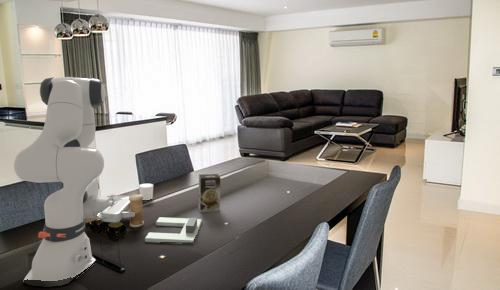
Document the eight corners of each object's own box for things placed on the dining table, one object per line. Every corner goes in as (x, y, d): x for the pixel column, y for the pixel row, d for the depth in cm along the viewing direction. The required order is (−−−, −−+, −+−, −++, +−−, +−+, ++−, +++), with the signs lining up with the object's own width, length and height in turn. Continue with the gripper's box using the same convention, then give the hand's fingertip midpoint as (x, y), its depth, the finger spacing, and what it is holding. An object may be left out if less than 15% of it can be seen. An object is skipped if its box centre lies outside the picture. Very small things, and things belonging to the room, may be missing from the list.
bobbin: (141, 227, 159) (140, 199, 157) (127, 227, 160) (126, 198, 157) (145, 222, 165) (144, 194, 162) (132, 221, 165) (131, 194, 163)
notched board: (193, 244, 147) (193, 232, 146) (145, 241, 147) (145, 230, 146) (201, 222, 166) (201, 212, 165) (159, 220, 167) (159, 210, 166)
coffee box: (200, 212, 177) (200, 178, 173) (198, 207, 183) (198, 174, 179) (220, 211, 179) (220, 177, 176) (217, 206, 185) (218, 173, 182)
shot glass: (149, 202, 188) (149, 188, 186) (136, 200, 189) (136, 186, 188) (156, 197, 194) (155, 183, 193) (143, 196, 196) (142, 182, 194)
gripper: (93, 210, 150) (129, 211, 150) (113, 192, 170) (145, 194, 170) (94, 225, 152) (130, 227, 151) (114, 206, 172) (146, 207, 171)
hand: (138, 209), depth 161 cm, fingers open, 8 cm apart
